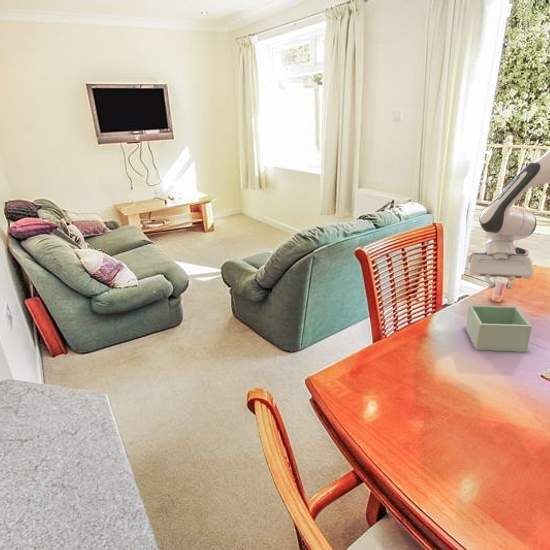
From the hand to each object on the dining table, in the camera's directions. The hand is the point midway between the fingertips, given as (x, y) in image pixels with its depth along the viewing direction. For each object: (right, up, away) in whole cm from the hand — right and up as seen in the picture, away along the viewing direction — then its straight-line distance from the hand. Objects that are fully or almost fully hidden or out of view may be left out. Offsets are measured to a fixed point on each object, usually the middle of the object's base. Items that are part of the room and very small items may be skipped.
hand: (500, 288), depth 134 cm
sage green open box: (-13, -15, -19) cm, 27 cm away
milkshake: (+1, -5, +3) cm, 6 cm away
